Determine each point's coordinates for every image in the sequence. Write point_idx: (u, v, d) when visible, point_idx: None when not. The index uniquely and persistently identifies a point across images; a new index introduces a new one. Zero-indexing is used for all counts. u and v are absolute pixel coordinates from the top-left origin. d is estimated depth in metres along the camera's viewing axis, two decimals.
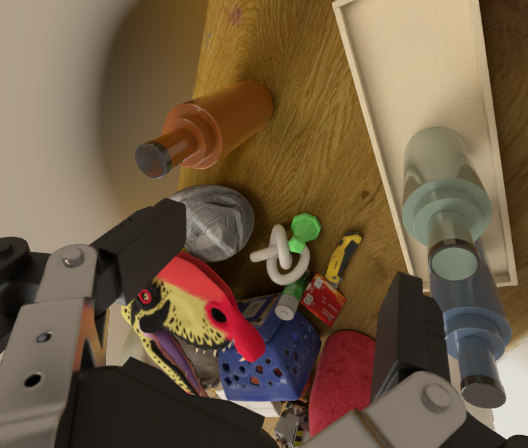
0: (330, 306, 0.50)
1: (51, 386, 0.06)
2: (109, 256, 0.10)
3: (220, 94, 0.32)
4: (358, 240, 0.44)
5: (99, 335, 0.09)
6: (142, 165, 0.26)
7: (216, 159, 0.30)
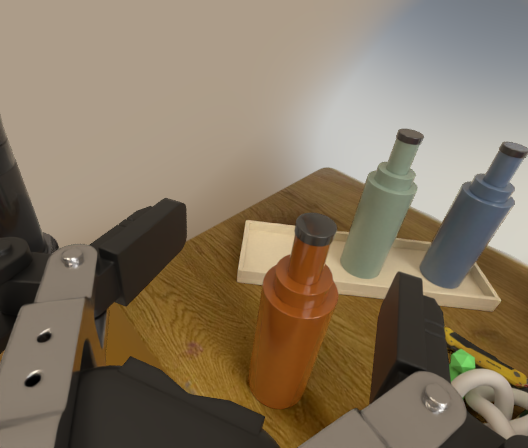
0: None
1: (51, 386, 0.06)
2: (109, 256, 0.10)
3: None
4: (449, 329, 0.40)
5: (99, 335, 0.09)
6: (317, 233, 0.22)
7: None
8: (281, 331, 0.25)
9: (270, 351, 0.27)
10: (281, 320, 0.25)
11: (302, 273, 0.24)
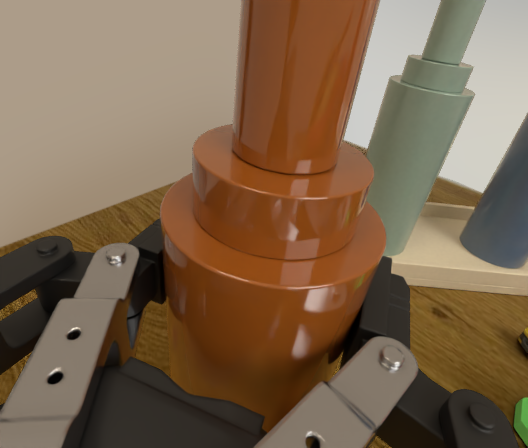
0: None
1: (51, 386, 0.06)
2: (149, 255, 0.10)
3: None
4: None
5: (132, 335, 0.10)
6: None
7: None
8: (216, 339, 0.08)
9: None
10: (210, 301, 0.07)
11: (276, 121, 0.06)
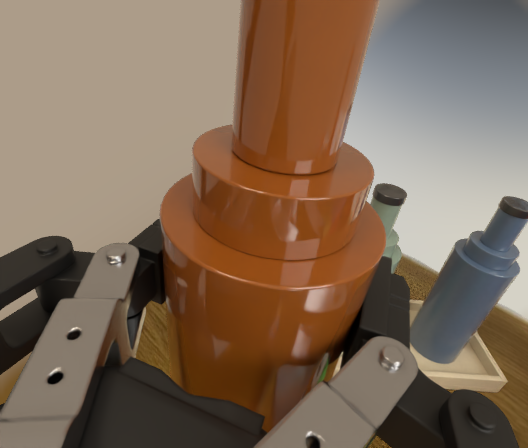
0: None
1: (51, 386, 0.06)
2: (149, 255, 0.10)
3: None
4: None
5: (132, 335, 0.10)
6: None
7: None
8: (216, 339, 0.08)
9: None
10: (210, 302, 0.07)
11: (275, 122, 0.06)
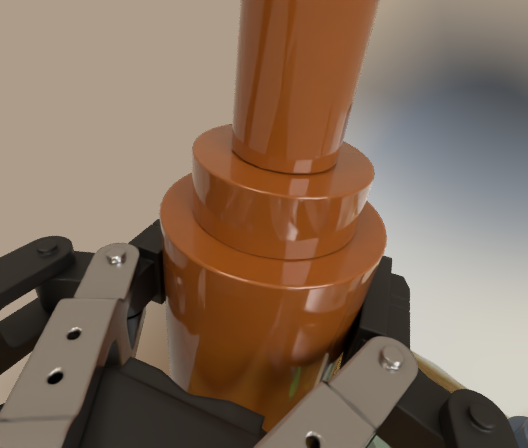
0: None
1: (51, 386, 0.06)
2: (149, 255, 0.10)
3: None
4: None
5: (131, 335, 0.10)
6: None
7: None
8: (216, 339, 0.08)
9: None
10: (210, 301, 0.07)
11: (276, 121, 0.06)
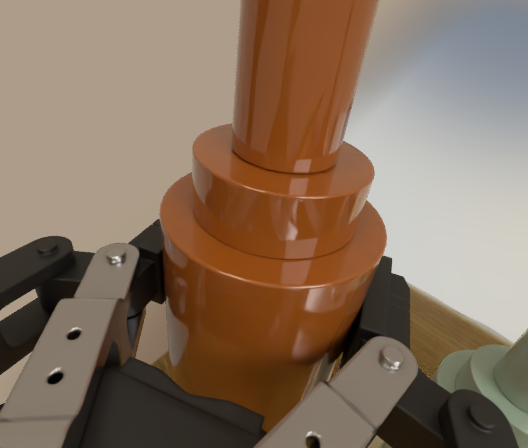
0: None
1: (51, 386, 0.06)
2: (149, 255, 0.10)
3: None
4: None
5: (132, 335, 0.10)
6: None
7: None
8: (216, 338, 0.08)
9: None
10: (209, 300, 0.07)
11: (275, 120, 0.06)
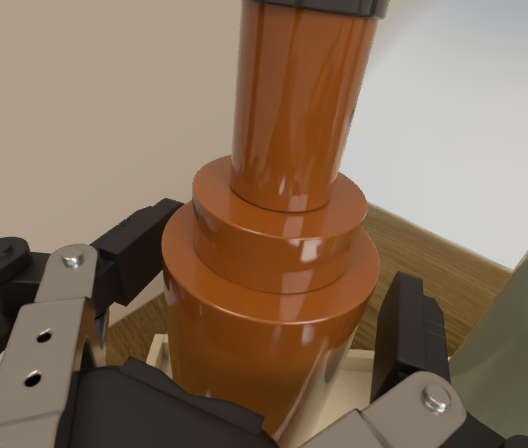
0: None
1: (51, 386, 0.06)
2: (109, 256, 0.10)
3: None
4: None
5: (99, 335, 0.09)
6: None
7: None
8: (214, 367, 0.08)
9: None
10: (208, 333, 0.08)
11: (271, 165, 0.07)
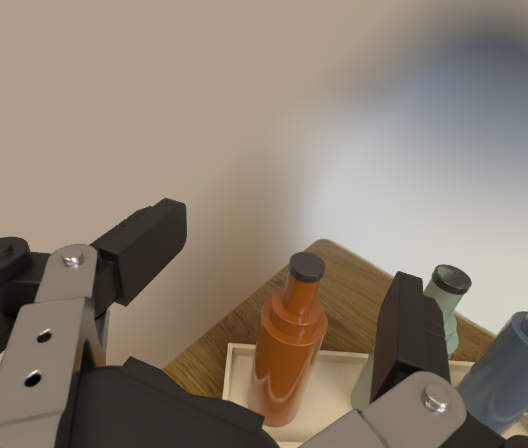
0: None
1: (51, 386, 0.06)
2: (109, 256, 0.10)
3: None
4: None
5: (99, 335, 0.09)
6: (309, 271, 0.25)
7: None
8: (278, 357, 0.28)
9: (268, 375, 0.30)
10: (278, 347, 0.28)
11: (296, 305, 0.27)
